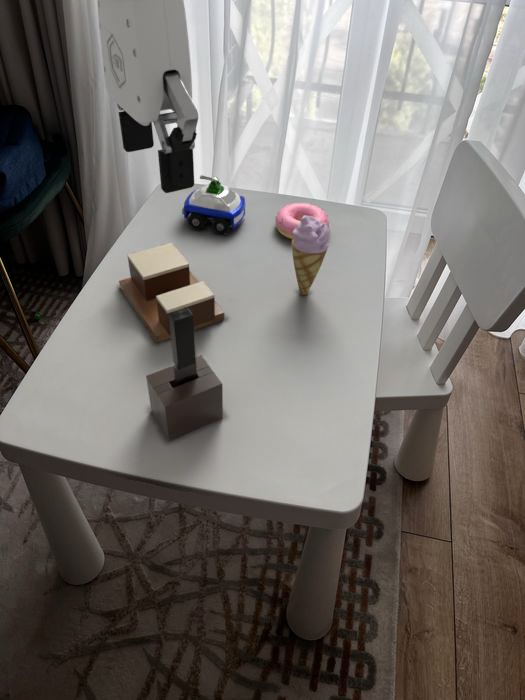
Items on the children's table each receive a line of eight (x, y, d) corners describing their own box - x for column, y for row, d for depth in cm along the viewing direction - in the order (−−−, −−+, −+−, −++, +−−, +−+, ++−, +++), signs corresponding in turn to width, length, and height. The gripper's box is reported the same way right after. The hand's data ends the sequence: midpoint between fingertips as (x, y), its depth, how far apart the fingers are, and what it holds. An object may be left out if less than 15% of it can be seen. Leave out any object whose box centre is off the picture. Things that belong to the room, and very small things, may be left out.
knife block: (169, 441, 70) (165, 407, 65) (151, 410, 74) (145, 375, 69) (222, 417, 73) (222, 383, 69) (203, 389, 77) (201, 354, 72)
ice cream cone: (284, 280, 97) (291, 205, 86) (318, 279, 97) (329, 205, 87) (288, 303, 92) (296, 227, 81) (324, 303, 92) (336, 227, 82)
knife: (181, 421, 73) (171, 322, 60) (176, 413, 74) (165, 314, 61) (201, 413, 74) (195, 314, 61) (195, 405, 75) (189, 306, 62)
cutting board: (156, 343, 83) (155, 336, 82) (119, 287, 93) (118, 280, 92) (224, 319, 88) (224, 312, 87) (182, 268, 98) (182, 262, 97)
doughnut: (318, 250, 104) (321, 231, 101) (266, 236, 107) (267, 218, 104) (334, 223, 111) (337, 205, 109) (285, 211, 114) (286, 193, 111)
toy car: (195, 205, 114) (193, 163, 108) (249, 215, 112) (250, 172, 106) (179, 227, 108) (176, 183, 101) (236, 237, 106) (237, 194, 99)
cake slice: (169, 335, 83) (166, 310, 79) (158, 320, 85) (155, 295, 81) (215, 319, 86) (214, 294, 82) (203, 305, 88) (202, 280, 85)
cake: (146, 301, 88) (143, 277, 85) (130, 279, 92) (127, 254, 89) (190, 287, 91) (189, 263, 88) (173, 266, 95) (171, 242, 92)
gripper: (57, -57, 45) (92, 142, 57) (134, -14, 35) (157, 216, 47) (140, -59, 48) (157, 130, 60) (233, -21, 38) (231, 198, 50)
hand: (157, 167), depth 54 cm, fingers open, 9 cm apart
